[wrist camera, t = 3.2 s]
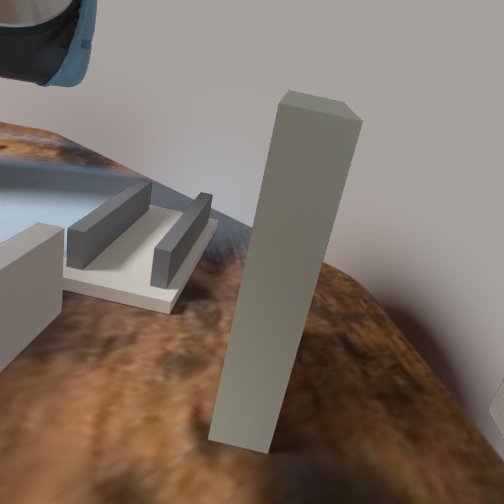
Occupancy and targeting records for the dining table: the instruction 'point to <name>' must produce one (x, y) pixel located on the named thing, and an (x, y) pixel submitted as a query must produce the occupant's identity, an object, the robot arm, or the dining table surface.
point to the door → (283, 263)
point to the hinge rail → (137, 249)
